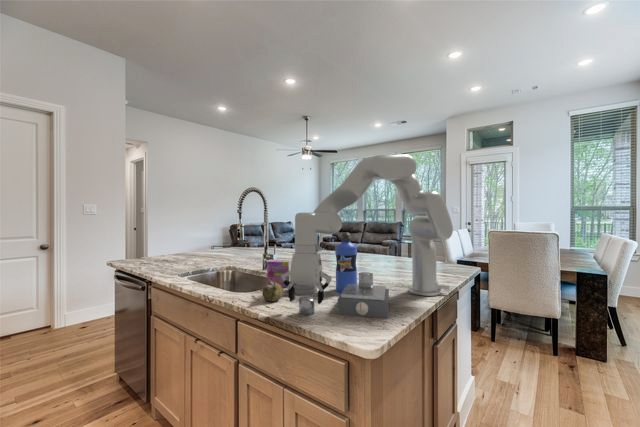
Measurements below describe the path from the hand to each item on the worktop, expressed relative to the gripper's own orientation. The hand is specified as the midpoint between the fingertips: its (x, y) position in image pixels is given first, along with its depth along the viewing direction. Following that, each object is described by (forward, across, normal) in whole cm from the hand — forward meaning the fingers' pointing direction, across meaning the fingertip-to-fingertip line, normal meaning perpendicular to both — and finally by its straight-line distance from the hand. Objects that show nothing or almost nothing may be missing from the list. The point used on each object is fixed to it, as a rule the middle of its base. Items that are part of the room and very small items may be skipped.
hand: (305, 301), depth 95 cm
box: (+4, +23, -32) cm, 40 cm away
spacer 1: (+4, 0, 0) cm, 4 cm away
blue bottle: (+4, -8, -31) cm, 33 cm away
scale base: (+4, -18, -10) cm, 21 cm away
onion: (+4, +17, -11) cm, 21 cm away
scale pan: (-1, -18, -10) cm, 21 cm away
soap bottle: (+4, +10, -26) cm, 28 cm away
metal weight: (-3, -18, -14) cm, 23 cm away
